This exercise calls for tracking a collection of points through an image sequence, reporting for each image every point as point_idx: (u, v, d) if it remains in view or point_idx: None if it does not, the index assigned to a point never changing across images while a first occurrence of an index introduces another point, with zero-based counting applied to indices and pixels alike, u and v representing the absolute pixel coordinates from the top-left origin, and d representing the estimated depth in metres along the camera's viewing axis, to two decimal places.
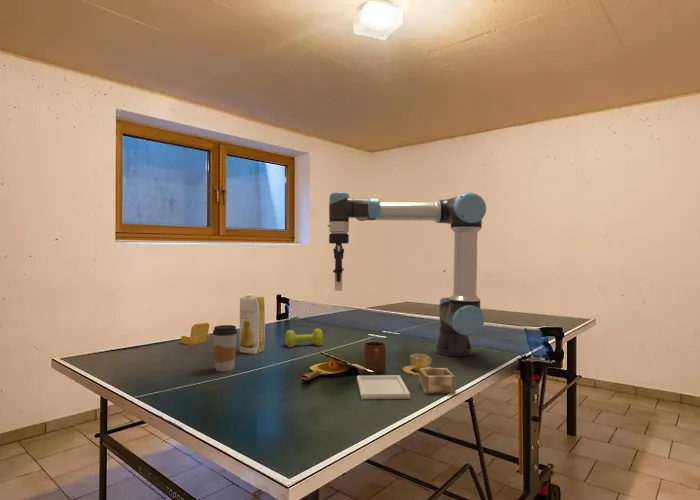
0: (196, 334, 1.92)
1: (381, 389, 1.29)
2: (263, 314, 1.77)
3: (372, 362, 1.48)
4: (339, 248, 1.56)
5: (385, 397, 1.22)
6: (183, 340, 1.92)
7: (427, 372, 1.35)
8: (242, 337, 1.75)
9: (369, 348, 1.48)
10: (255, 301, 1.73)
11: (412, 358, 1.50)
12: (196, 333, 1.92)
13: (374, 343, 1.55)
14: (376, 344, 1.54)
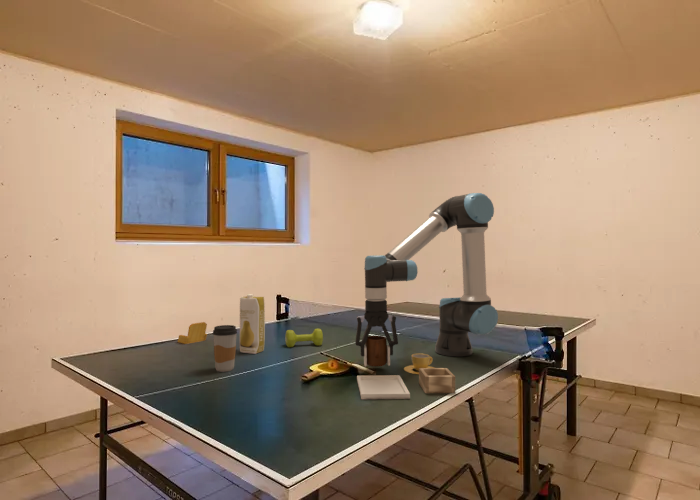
0: (193, 333, 1.93)
1: (381, 389, 1.29)
2: (263, 314, 1.77)
3: (373, 356, 1.48)
4: (357, 320, 1.49)
5: (385, 397, 1.22)
6: (180, 340, 1.93)
7: (427, 372, 1.35)
8: (242, 337, 1.75)
9: (370, 342, 1.48)
10: (255, 301, 1.73)
11: (413, 358, 1.51)
12: (193, 332, 1.93)
13: (375, 337, 1.55)
14: (377, 338, 1.55)
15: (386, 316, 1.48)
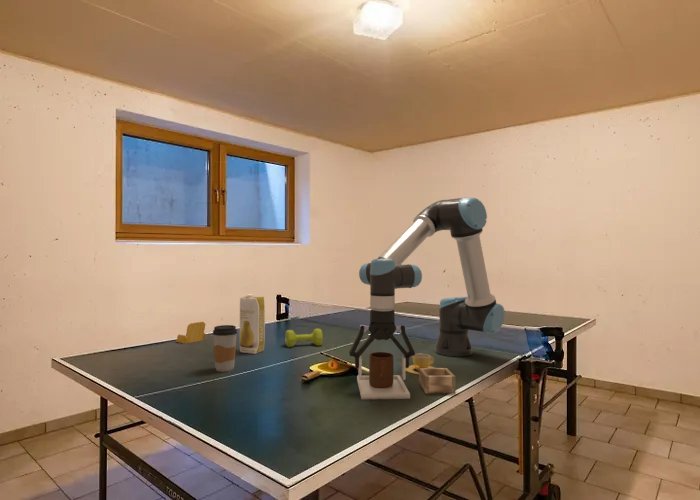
0: (192, 333, 1.94)
1: (381, 389, 1.29)
2: (263, 314, 1.77)
3: (378, 376, 1.30)
4: None
5: (385, 397, 1.22)
6: (179, 339, 1.94)
7: (427, 372, 1.35)
8: (242, 337, 1.75)
9: (375, 360, 1.30)
10: (255, 301, 1.73)
11: (414, 358, 1.51)
12: (192, 332, 1.94)
13: (380, 353, 1.37)
14: (383, 355, 1.37)
15: (393, 328, 1.30)
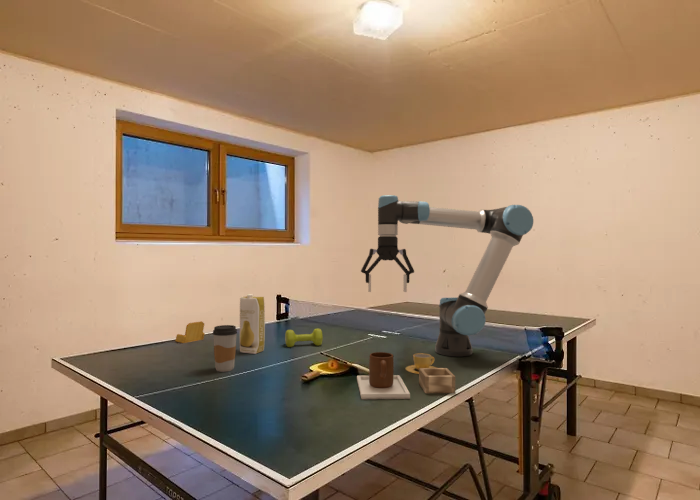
0: (191, 333, 1.95)
1: (381, 389, 1.29)
2: (263, 314, 1.77)
3: (378, 376, 1.30)
4: (369, 251, 1.63)
5: (385, 397, 1.22)
6: (178, 339, 1.95)
7: (427, 372, 1.35)
8: (242, 337, 1.75)
9: (375, 360, 1.30)
10: (255, 301, 1.73)
11: (415, 357, 1.51)
12: (191, 332, 1.95)
13: (380, 353, 1.37)
14: (383, 355, 1.37)
15: (397, 251, 1.62)
